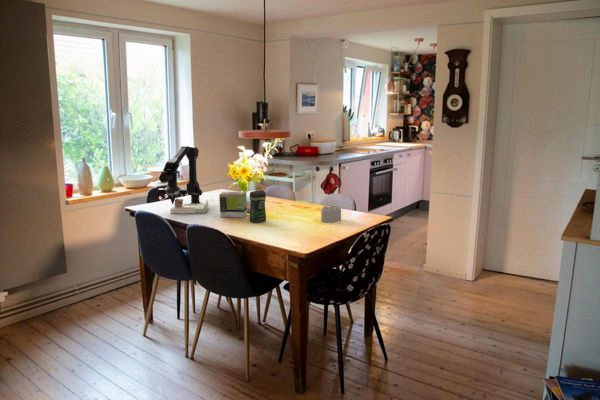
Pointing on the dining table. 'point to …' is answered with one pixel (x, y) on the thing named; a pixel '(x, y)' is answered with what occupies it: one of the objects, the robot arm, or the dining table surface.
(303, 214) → the dining table surface
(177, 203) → the walnut block
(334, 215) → the lumpy-topped squat cylinder
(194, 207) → the trap board
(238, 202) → the retro computer monitor
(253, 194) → the coffee jar
